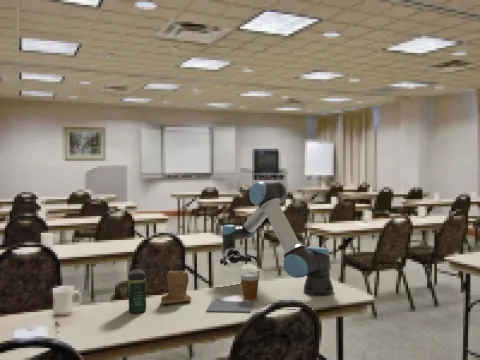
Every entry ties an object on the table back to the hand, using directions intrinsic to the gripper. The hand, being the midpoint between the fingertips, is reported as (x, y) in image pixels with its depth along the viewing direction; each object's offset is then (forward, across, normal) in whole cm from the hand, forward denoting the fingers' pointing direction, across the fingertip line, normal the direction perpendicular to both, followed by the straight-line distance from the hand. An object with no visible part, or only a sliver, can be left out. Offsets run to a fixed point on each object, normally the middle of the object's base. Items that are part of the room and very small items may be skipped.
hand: (242, 263), depth 223 cm
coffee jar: (+12, +53, -16) cm, 57 cm away
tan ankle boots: (+4, +35, -16) cm, 39 cm away
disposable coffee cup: (+10, -1, -15) cm, 19 cm away
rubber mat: (+21, +11, -15) cm, 28 cm away
